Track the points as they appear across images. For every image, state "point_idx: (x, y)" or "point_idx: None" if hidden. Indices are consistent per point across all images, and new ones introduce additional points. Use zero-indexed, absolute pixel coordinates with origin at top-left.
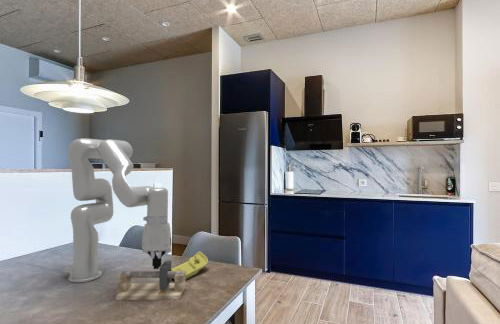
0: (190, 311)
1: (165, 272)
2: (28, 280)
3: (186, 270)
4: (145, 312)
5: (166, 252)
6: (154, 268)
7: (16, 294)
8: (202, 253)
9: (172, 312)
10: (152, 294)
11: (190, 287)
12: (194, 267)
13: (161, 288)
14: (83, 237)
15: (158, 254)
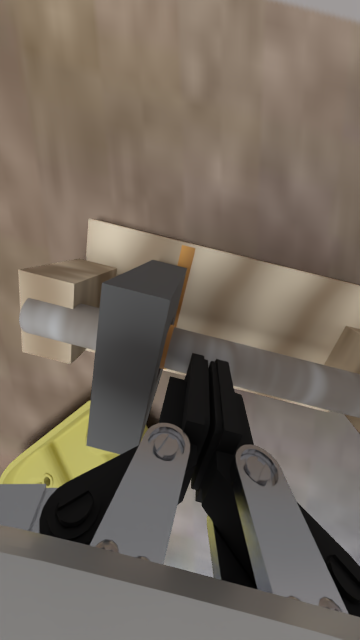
0: (28, 55)
1: (125, 275)
2: None
3: (86, 451)
4: (255, 101)
5: (25, 502)
6: (220, 361)
7: None
8: None
9: (118, 65)
10: (221, 263)
11: None
12: (55, 461)
13: (175, 266)
14: None
15: (171, 486)
